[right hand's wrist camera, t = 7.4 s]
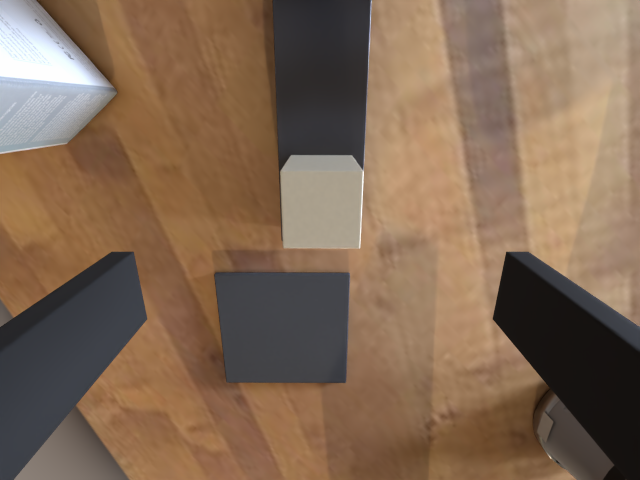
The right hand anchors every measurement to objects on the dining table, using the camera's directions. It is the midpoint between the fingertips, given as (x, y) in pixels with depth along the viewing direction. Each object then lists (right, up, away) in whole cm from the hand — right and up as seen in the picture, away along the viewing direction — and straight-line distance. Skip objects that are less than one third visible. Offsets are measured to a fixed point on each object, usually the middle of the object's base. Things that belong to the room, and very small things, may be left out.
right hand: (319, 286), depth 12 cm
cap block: (0, +6, +17) cm, 18 cm away
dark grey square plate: (-4, -8, +26) cm, 28 cm away
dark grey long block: (0, +15, +18) cm, 23 cm away
